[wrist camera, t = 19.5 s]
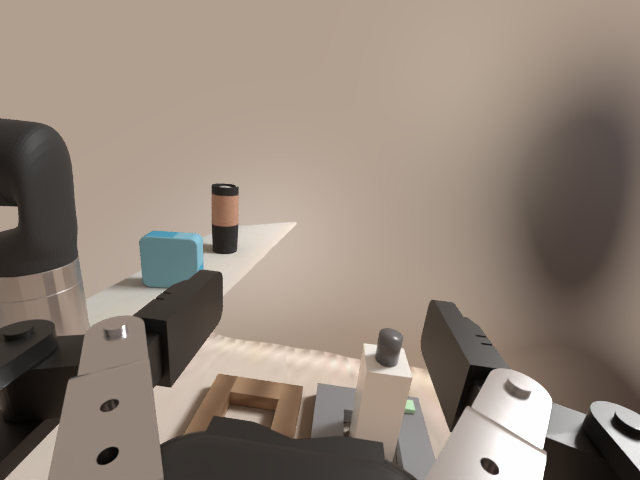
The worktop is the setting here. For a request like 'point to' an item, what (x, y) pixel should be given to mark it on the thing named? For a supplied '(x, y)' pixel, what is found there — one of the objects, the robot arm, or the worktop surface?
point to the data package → (170, 257)
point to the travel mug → (224, 218)
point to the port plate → (413, 434)
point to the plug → (381, 392)
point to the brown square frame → (250, 402)
